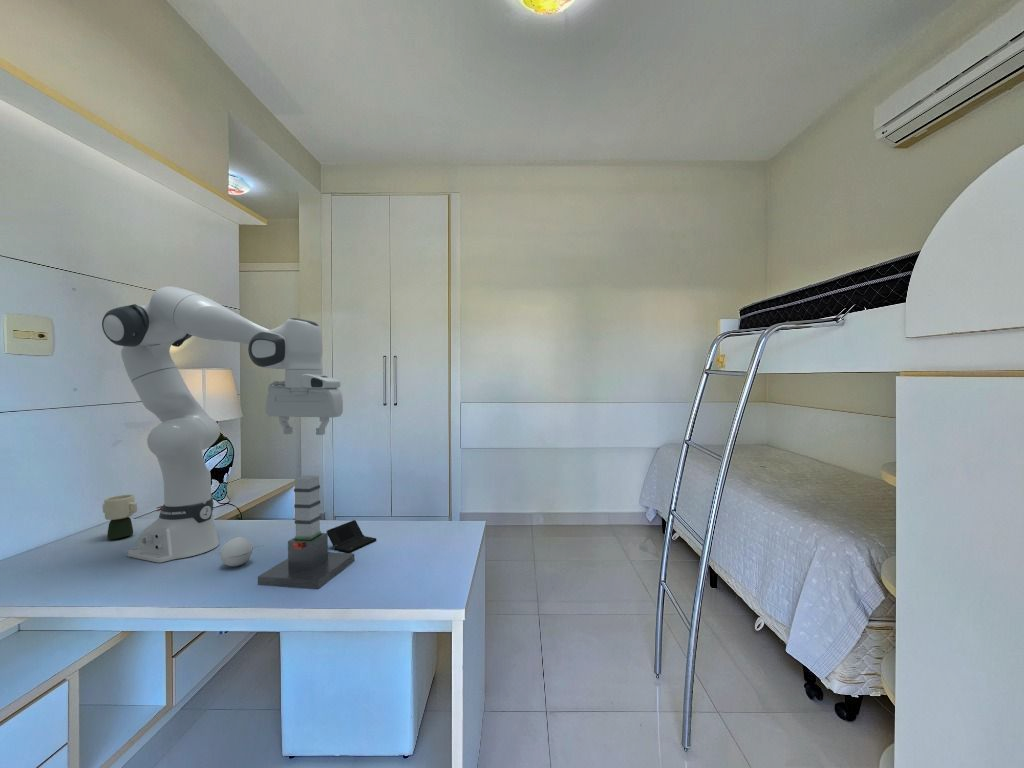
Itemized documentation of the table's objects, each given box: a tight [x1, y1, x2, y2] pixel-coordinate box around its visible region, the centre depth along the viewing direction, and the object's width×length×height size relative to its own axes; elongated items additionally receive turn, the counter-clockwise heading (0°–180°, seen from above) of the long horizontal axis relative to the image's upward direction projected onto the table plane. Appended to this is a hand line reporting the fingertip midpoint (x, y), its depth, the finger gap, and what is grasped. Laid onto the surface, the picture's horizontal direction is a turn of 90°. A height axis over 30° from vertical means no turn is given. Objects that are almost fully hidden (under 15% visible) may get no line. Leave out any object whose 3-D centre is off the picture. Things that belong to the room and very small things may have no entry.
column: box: [293, 475, 322, 541], centre depth 111 cm, size 4×4×16 cm
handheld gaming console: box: [325, 519, 377, 553], centre depth 129 cm, size 12×7×10 cm
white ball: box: [219, 536, 265, 568], centre depth 116 cm, size 10×7×7 cm
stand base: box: [257, 532, 355, 590], centre depth 111 cm, size 16×16×9 cm
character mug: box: [102, 494, 138, 540], centre depth 139 cm, size 11×7×13 cm, turn 88°
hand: (304, 434), depth 113 cm, fingers open, 8 cm apart
